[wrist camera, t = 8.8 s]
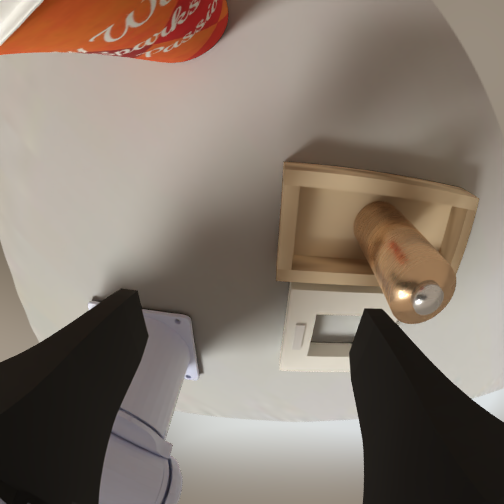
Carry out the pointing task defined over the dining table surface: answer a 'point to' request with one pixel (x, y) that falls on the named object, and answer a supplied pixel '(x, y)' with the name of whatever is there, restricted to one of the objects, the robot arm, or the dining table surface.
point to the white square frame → (303, 319)
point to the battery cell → (404, 263)
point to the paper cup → (113, 27)
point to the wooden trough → (345, 211)
